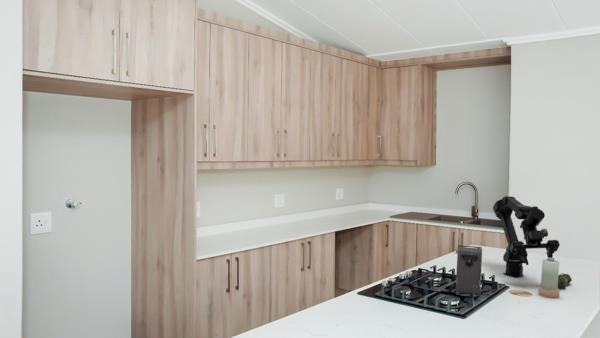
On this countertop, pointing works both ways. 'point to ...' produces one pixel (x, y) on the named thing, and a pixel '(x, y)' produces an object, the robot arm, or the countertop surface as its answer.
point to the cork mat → (521, 293)
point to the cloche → (550, 274)
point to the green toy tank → (563, 280)
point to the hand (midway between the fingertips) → (539, 264)
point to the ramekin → (548, 293)
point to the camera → (468, 270)
